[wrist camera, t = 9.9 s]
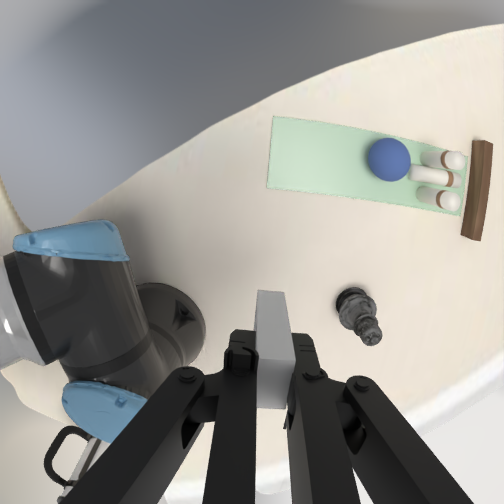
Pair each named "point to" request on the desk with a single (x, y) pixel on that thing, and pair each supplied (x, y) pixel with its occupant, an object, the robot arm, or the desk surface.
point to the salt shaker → (359, 315)
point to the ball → (389, 159)
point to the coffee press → (85, 462)
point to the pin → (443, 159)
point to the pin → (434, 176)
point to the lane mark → (343, 164)
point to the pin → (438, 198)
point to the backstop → (477, 190)
